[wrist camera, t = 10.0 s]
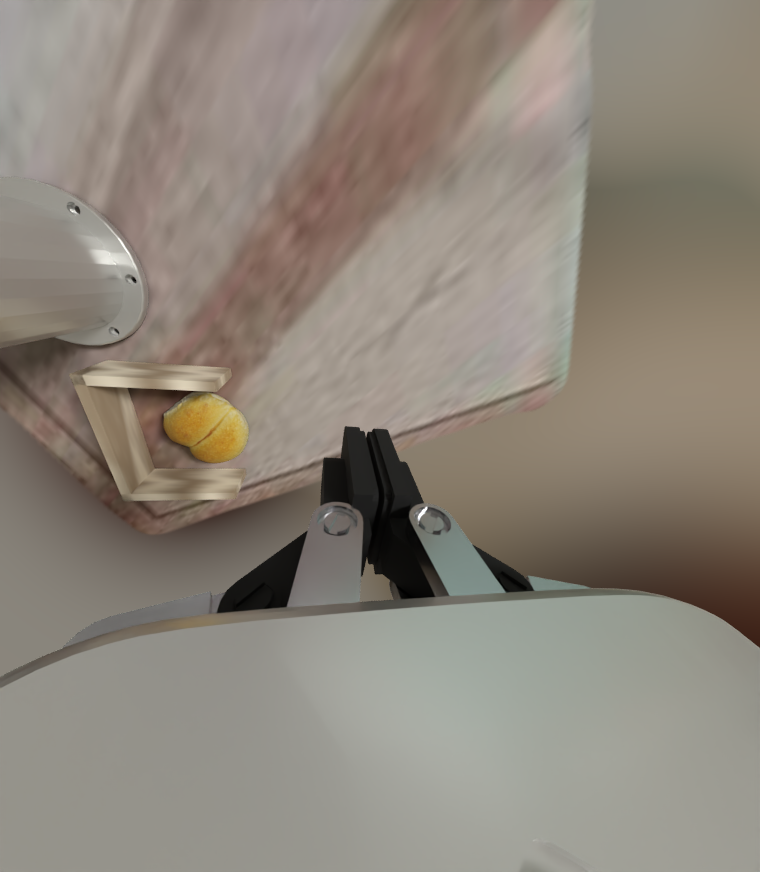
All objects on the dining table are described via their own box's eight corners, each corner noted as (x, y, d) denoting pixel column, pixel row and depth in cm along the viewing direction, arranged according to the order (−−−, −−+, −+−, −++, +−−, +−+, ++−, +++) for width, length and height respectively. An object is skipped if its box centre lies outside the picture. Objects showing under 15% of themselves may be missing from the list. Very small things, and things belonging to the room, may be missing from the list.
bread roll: (218, 464, 38) (207, 483, 34) (158, 415, 33) (138, 431, 30) (266, 432, 36) (259, 448, 33) (210, 377, 32) (195, 389, 28)
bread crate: (148, 474, 36) (123, 501, 32) (107, 360, 29) (68, 374, 25) (246, 474, 39) (235, 499, 34) (230, 368, 32) (214, 382, 27)
